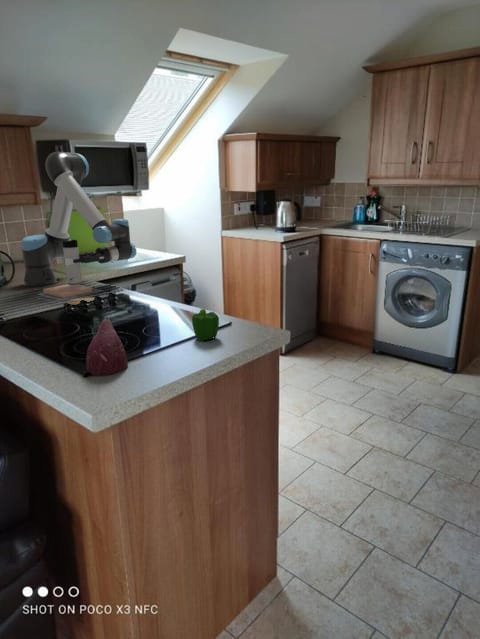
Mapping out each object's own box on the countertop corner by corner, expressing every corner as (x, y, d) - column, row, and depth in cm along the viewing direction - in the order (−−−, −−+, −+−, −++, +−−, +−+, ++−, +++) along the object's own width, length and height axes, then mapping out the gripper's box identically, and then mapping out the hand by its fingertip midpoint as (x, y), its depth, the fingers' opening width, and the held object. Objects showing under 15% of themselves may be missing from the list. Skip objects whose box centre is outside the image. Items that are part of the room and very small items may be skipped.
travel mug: (72, 286, 204) (66, 240, 198) (65, 284, 208) (59, 239, 202) (85, 283, 208) (80, 239, 202) (77, 281, 212) (72, 238, 206)
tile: (71, 283, 216) (43, 288, 206) (91, 287, 206) (62, 293, 196) (72, 287, 217) (43, 293, 206) (91, 292, 207) (63, 298, 196)
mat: (80, 286, 222) (80, 285, 222) (104, 291, 210) (104, 290, 209) (36, 295, 206) (36, 294, 206) (60, 301, 193) (59, 300, 193)
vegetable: (102, 371, 128) (98, 317, 128) (135, 370, 125) (131, 315, 125) (78, 377, 118) (73, 318, 118) (112, 376, 115) (108, 315, 115)
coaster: (69, 300, 195) (68, 298, 195) (98, 298, 197) (98, 296, 197) (64, 307, 184) (63, 305, 183) (95, 305, 186) (95, 303, 185)
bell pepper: (205, 332, 149) (204, 302, 146) (224, 337, 144) (223, 306, 141) (186, 339, 143) (184, 308, 140) (206, 344, 138) (204, 312, 135)
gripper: (119, 264, 213) (74, 272, 196) (95, 260, 225) (51, 267, 208) (118, 248, 211) (72, 254, 194) (93, 245, 223) (48, 251, 206)
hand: (61, 261), depth 201 cm, fingers closed on travel mug, 6 cm apart
